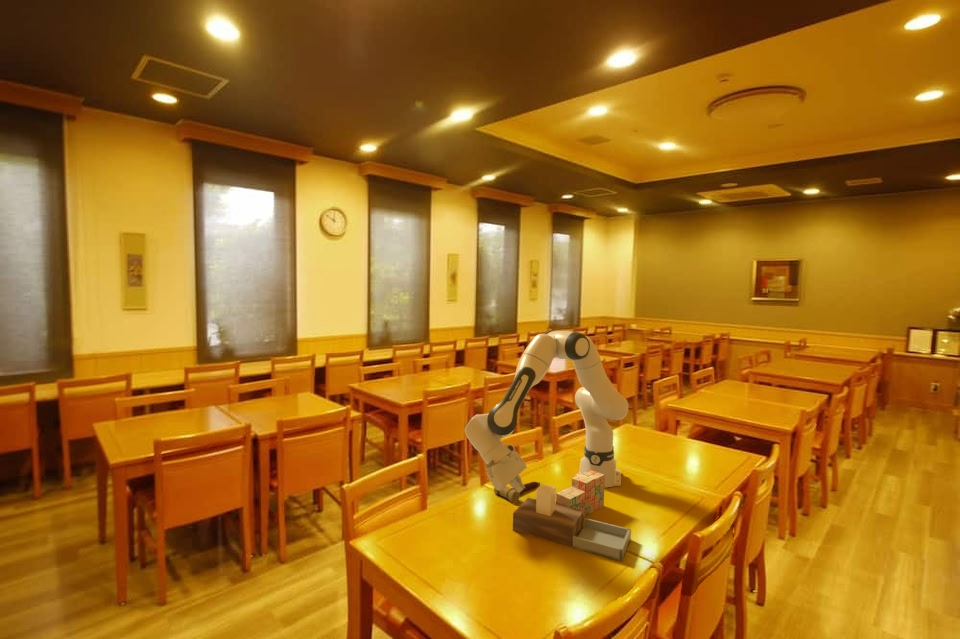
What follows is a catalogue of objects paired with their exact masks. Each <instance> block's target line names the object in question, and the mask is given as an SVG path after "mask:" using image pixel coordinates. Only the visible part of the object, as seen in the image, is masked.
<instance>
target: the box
mask: <svg viewBox="0 0 960 639" xmlns="http://www.w3.org/2000/svg"><path fill="white" fill-rule="evenodd" d="M631 535H632V528H629V527H628V528H627V527H624V526H620V525H617V524H612V523H607V522H603V521H600V520H599V521H598V520H595V519H591V518H587V517H585V518H583V529H582V530H581V532H580V533H579V535H578V537H576V536H573V545H572V549H575V550H578V551H582V552H587V553H590V554H592V555H593V554H594V555H597V556H600V557H604V558H607V559H611V560H615V561H618V562H623V560H624V558H623V557H625V555H626V552H627V550H628V547H629V544H630V542H631Z"/></svg>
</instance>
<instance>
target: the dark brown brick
mask: <svg viewBox="0 0 960 639" xmlns="http://www.w3.org/2000/svg"><path fill="white" fill-rule="evenodd" d="M582 528H584V517H583V511H582V510H577V509H573V508H569V507H565V506H561V505H557V504H556V503H555V511H554V512H553V513H552V515H551V516H548V515H544V514H540V513H536V499H535V498H531V497H527V498H526V499H525V500H524V501H523V502H522V503H521V504H520V505H519V506H518V507H517V508H516V510H514V512H513V513H512V531H514V532H517V533H521V534H524V535H528V536H532V537H536V538H538V539H541V540H542V539H543V540H546V541H550V542H554V543H557V544H560V545H564V546H568V547H571V548H573V536H576V537H578V536H579V534H580V532H581V531H582Z"/></svg>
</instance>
